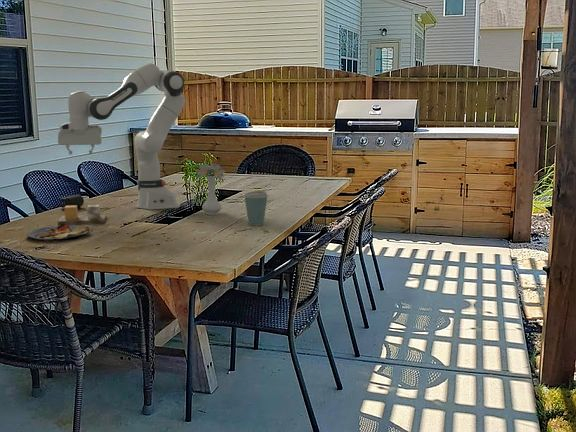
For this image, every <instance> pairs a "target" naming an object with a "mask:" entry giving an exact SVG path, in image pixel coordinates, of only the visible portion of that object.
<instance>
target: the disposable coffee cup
mask: <svg viewBox="0 0 576 432" xmlns="http://www.w3.org/2000/svg"><path fill="white" fill-rule="evenodd" d="M243 198H244V203H245V209H246V214H247V215H246V216H247V219H248V225H249V226H253V227H256V226H263V225H264V223H265V215H266V208H267V199H268V194H267V191H264V190H255V191H248V192H246V193H244V195H243Z"/></svg>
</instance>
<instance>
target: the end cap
mask: <svg viewBox="0 0 576 432" xmlns="http://www.w3.org/2000/svg"><path fill="white" fill-rule="evenodd" d="M59 199H60V200H59V201H60V208H61V211H65V209H64V207H65V206H72V205H77V209H79V208H81V207H82V206H83V205H84V203H85V199H84V197H83V196H82V195H81V194H76V195H68V196H62V197H60V198H59ZM61 202H63V203H61Z"/></svg>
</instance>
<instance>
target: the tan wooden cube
mask: <svg viewBox="0 0 576 432" xmlns="http://www.w3.org/2000/svg"><path fill="white" fill-rule="evenodd" d="M64 209H65V210H64V216H65V219H77V218H78V215H79V213H78V212H79V211H78V209H79V208H77V205H72V206H65V207H64Z"/></svg>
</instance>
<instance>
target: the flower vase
mask: <svg viewBox="0 0 576 432" xmlns="http://www.w3.org/2000/svg"><path fill="white" fill-rule="evenodd" d="M225 173H226V170H224V169H223V168H221V165H220V164H218V163H217V164H216V163H211V164H210V165H208V164H207V163H206V162H205V163H204V164H199V169H197V170H196V175H197V177H196V180H199V179H202V178H203V177H204V176H205V177H206V178H207V182H208V183H207V185H208V190H207V193H208V194H207V198H206V199H205V201H204V203H203V204H202V207H201V208H202V210H203V212H205V215H207V216H215V215H219V213H220V211H221V210H222V205H221V203H220V202H219V201H218V199H217V197H216V190H215V189H216V188H215V187H216V186H215V184H216V181H215V180H216V178H217V179H218V180H220V181H221V180H222V179H223V178H224V176H225V175H224V174H225Z"/></svg>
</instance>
